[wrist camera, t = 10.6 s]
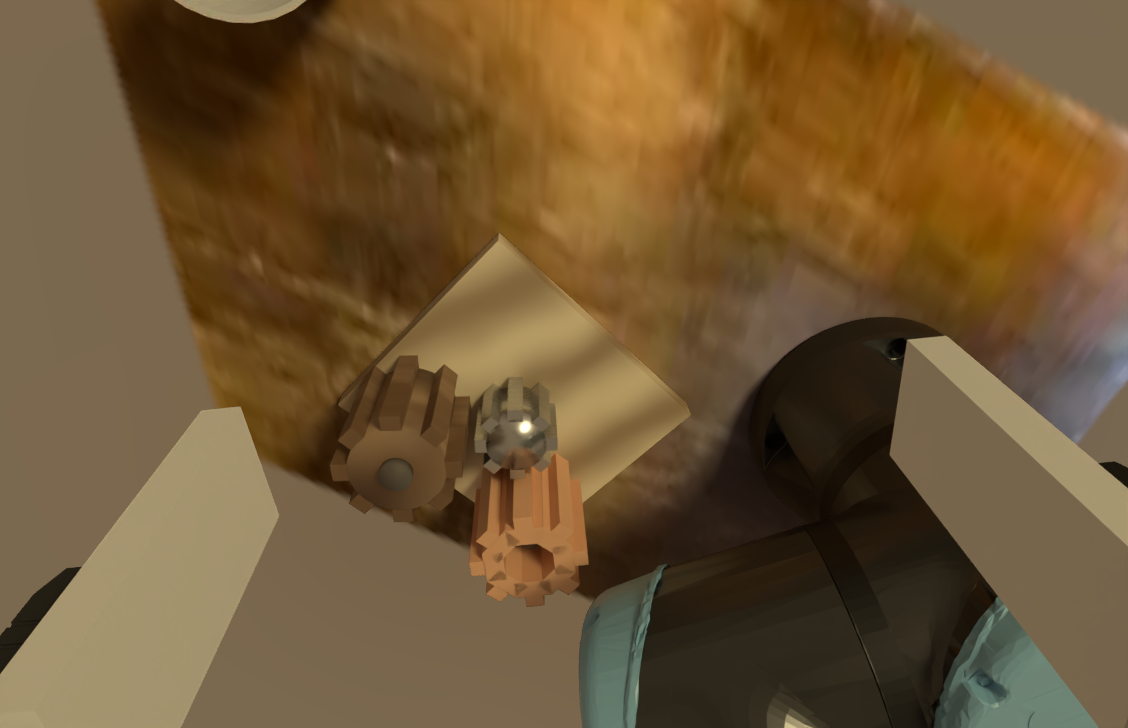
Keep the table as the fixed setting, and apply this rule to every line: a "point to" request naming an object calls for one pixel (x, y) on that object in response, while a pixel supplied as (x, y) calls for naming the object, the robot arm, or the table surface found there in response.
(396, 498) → the pinned planet gear
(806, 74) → the table surface
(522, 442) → the sun gear
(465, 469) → the carrier
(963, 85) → the table surface
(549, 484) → the planet gear
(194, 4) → the coffee mug
